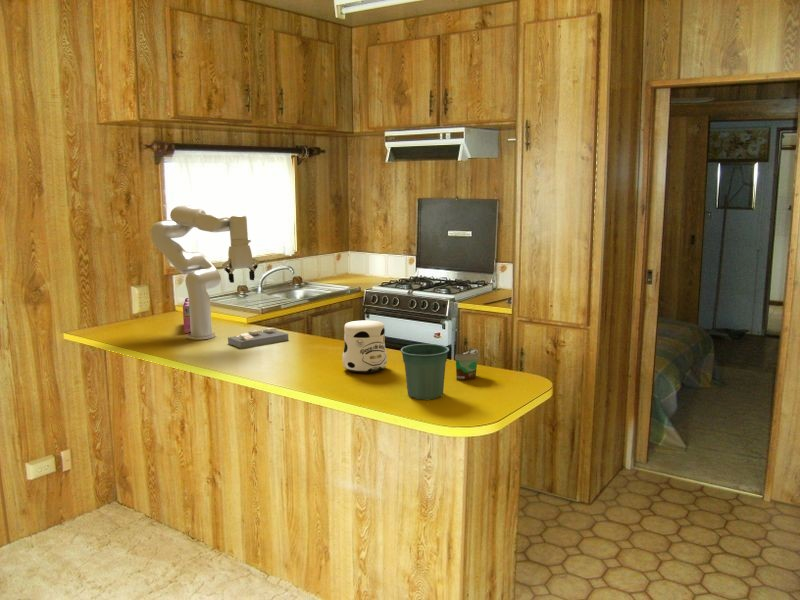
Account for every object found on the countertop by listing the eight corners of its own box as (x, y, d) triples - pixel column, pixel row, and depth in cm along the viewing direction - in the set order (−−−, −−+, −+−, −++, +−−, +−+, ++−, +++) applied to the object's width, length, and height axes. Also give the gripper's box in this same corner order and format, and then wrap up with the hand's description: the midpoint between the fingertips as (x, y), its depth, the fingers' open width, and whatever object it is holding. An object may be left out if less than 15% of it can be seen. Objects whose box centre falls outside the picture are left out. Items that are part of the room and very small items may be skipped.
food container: (469, 383, 256) (470, 356, 254) (454, 381, 259) (454, 354, 258) (484, 375, 266) (485, 349, 265) (469, 373, 270) (470, 347, 268)
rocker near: (239, 336, 316) (239, 333, 315) (246, 335, 318) (247, 332, 318) (246, 341, 312) (246, 338, 311) (253, 340, 314) (253, 336, 313)
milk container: (377, 377, 264) (376, 330, 261) (335, 373, 270) (334, 327, 267) (393, 366, 280) (393, 321, 277) (353, 362, 286) (352, 318, 283)
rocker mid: (248, 334, 325) (248, 331, 325) (255, 333, 327) (255, 329, 327) (254, 334, 320) (254, 330, 320) (261, 333, 323) (261, 329, 323)
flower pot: (391, 397, 241) (391, 351, 238) (416, 385, 255) (416, 341, 252) (434, 405, 232) (434, 357, 230) (457, 392, 246) (457, 346, 243)
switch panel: (228, 343, 319) (227, 336, 319) (275, 335, 334) (274, 329, 334) (240, 348, 310) (240, 341, 310) (288, 340, 325) (288, 333, 325)
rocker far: (263, 332, 330) (262, 328, 330) (270, 331, 332) (269, 327, 332) (269, 332, 325) (269, 328, 325) (276, 330, 328) (275, 327, 327)
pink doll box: (187, 323, 365) (185, 297, 362) (203, 322, 367) (201, 296, 364) (183, 333, 342) (182, 305, 339) (200, 332, 344) (199, 304, 341)
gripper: (253, 241, 322) (256, 278, 325) (217, 243, 312) (220, 282, 315) (261, 241, 316) (263, 280, 319) (224, 244, 306) (227, 284, 309)
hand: (242, 281), depth 317 cm, fingers open, 9 cm apart
